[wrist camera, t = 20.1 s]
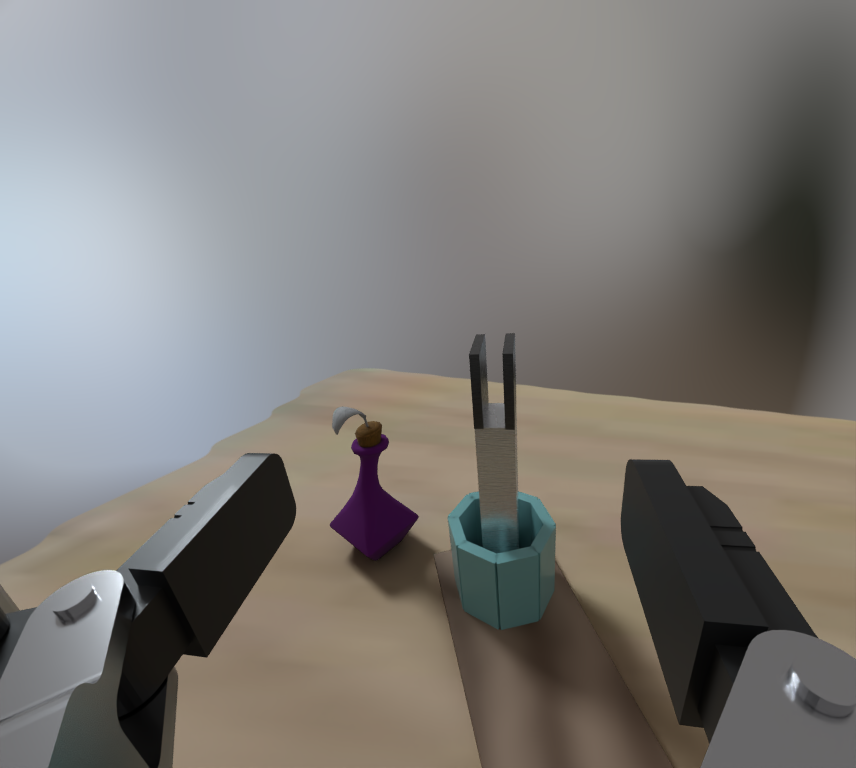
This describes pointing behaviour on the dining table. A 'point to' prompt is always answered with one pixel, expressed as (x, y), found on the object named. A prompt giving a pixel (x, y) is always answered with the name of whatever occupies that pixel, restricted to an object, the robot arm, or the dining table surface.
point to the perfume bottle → (370, 496)
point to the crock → (504, 565)
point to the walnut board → (546, 689)
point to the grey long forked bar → (496, 449)
